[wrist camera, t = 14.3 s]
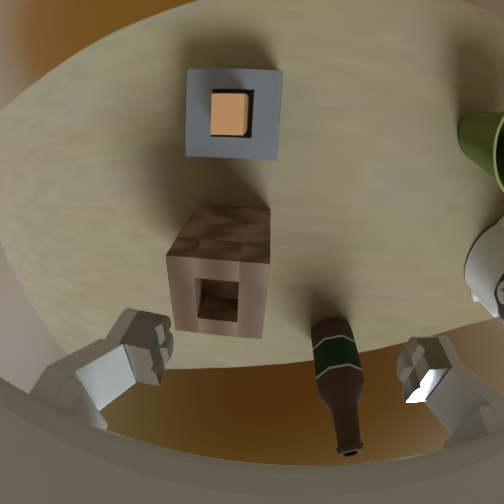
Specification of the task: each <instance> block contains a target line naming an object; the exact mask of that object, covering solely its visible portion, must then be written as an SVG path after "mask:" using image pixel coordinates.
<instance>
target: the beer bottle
mask: <svg viewBox="0 0 504 504" xmlns="http://www.w3.org/2000/svg"><path fill="white" fill-rule="evenodd" d="M311 338H312V346H313V355H314V363H315V372H316V380H317V388H318V393H319V398H320V400H321V402H322V403H323V405H324V406H325V407H326V408H328V409H329V410H330V411H331V414H332V417H333V421H334V425H335V431H336V437H337V442H338V448H337V454H338V456H340V457H351V456H355V455H357V454H359V453H361V452H362V448H363V443H361V442H360V431H359V420H358V412H357V409H358V404H359V402H360V400H361V398H362V392H363V384H364V378H363V372H362V367H361V363H360V359H359V355H358V351H357V348H356V344H355V340H354V336H353V333H352V330H351V327H350V324H348V323H346V322H344V321H342V320H340V319H339V318H334V319H328V320H323V321H321V322H320V323H319V324H318V325H317V326H316V327H315V328H314V329H313V330H312V331H311Z"/></svg>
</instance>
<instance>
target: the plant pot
mask: <svg viewBox="0 0 504 504" xmlns="http://www.w3.org/2000/svg"><path fill="white" fill-rule="evenodd" d="M459 144H460V147H461V149H462V151H463V152H464V154H465V155H466V156H468V157H469V158H470V159H471V160H473V161H474V162H475V163H477V164H478V165H479V166H480V167H482V168H483V169H484V170H485V171H486V172H488V173H489V174H490V175H491V176H492V177H493V178H494V180H495V181H496V182H497V183H498V185H499V187H500V188H501V190H502V191H503V192H504V112H501V113H472V114H469V115H467V116H465V117H464V118H463V120H462V121H461V123H460V126H459Z"/></svg>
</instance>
